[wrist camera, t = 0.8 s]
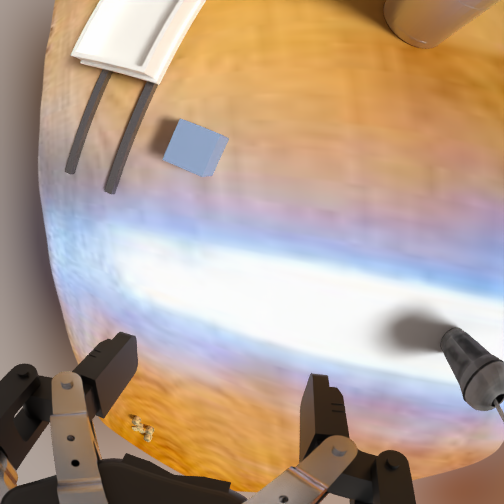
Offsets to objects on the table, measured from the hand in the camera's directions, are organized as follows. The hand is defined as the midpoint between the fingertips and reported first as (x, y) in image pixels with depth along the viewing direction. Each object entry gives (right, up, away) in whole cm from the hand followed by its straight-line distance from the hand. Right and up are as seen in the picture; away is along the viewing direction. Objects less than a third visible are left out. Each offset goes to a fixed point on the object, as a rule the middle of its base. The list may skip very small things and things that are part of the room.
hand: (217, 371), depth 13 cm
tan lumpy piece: (-20, -29, +39) cm, 52 cm away
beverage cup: (+33, -8, +27) cm, 43 cm away
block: (-5, +18, +23) cm, 30 cm away
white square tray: (-12, +34, +19) cm, 41 cm away
